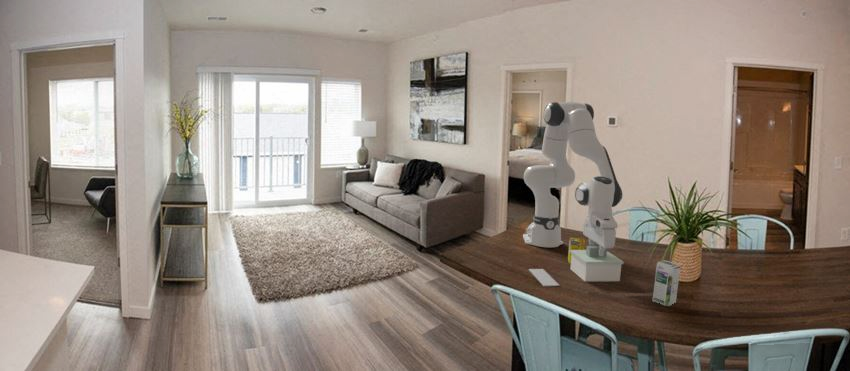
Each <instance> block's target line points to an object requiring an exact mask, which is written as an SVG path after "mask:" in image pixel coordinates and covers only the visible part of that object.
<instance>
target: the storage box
mask: <svg viewBox="0 0 850 371" xmlns="http://www.w3.org/2000/svg"><path fill="white" fill-rule="evenodd" d="M570 271H572V272H573V273H575V274H576V276H578V277H579V278H580V279H581V280H582V281H584V282H586V283H587V282H620V281H621V271H622V264H585V263H583V262H582V261H581V260H579V259H578V258H577V257H576V256H574V255H573V254H572V256H571V264H570Z"/></svg>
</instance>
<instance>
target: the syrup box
mask: <svg viewBox="0 0 850 371" xmlns="http://www.w3.org/2000/svg"><path fill="white" fill-rule="evenodd" d="M681 266H682V265H681V264H680V263H677V262H672V261H669V260H665V259H663V260H660V261H657V262H656V266H655V267H656V268H655V277H654V286H653V293H652V299H651V300H652V302H654V303H657V304H659V303H660V304H659V305H662V306H665V307H667V306H668V307H670V306H673V305H674V303H675V304H676V303H677V295H678V288H679V281H680V274H681V273H680V272H681ZM672 304H673V305H672Z"/></svg>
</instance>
